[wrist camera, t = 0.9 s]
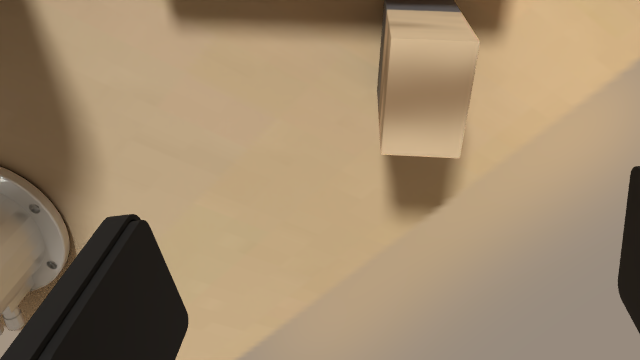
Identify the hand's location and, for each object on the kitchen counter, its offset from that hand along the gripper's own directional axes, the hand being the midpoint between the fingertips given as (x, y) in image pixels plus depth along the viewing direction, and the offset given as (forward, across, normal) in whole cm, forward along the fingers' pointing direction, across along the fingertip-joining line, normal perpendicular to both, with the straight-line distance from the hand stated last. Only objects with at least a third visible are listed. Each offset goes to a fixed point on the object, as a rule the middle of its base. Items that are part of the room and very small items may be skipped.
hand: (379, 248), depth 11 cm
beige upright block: (+25, -2, +4) cm, 25 cm away
